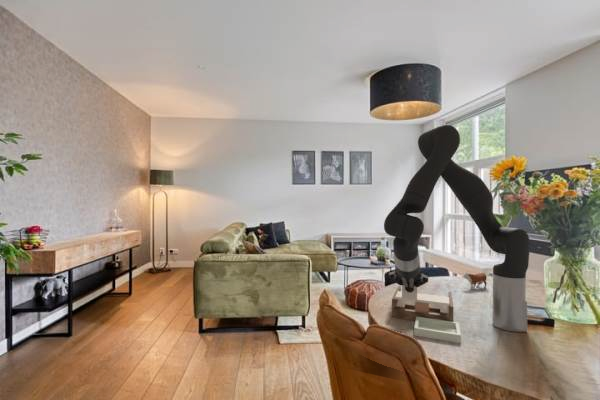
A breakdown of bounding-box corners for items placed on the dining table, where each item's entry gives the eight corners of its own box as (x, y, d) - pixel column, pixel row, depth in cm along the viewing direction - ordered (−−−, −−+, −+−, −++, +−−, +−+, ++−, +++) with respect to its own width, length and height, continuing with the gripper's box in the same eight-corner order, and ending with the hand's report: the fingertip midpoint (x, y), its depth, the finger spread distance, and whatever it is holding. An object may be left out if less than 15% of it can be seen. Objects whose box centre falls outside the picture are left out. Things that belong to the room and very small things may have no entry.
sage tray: (458, 329, 104) (458, 322, 104) (460, 343, 94) (460, 335, 94) (416, 323, 109) (416, 316, 109) (414, 335, 99) (414, 327, 99)
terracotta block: (428, 312, 116) (429, 299, 116) (428, 316, 111) (428, 303, 111) (415, 310, 117) (415, 298, 117) (414, 314, 113) (415, 301, 113)
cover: (448, 299, 115) (449, 271, 115) (449, 305, 107) (449, 276, 107) (397, 293, 122) (398, 267, 122) (395, 299, 114) (395, 271, 114)
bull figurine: (460, 288, 156) (461, 271, 156) (482, 286, 160) (482, 270, 160) (468, 290, 152) (468, 273, 152) (489, 288, 156) (490, 271, 156)
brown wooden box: (451, 308, 125) (451, 291, 125) (453, 326, 107) (453, 307, 107) (398, 301, 133) (398, 286, 133) (391, 317, 115) (391, 299, 115)
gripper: (429, 252, 100) (430, 282, 112) (386, 249, 106) (391, 279, 117) (429, 273, 96) (429, 302, 107) (384, 269, 101) (389, 297, 112)
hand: (409, 290), depth 112 cm, fingers closed
